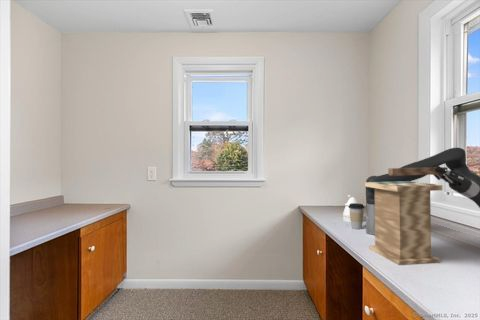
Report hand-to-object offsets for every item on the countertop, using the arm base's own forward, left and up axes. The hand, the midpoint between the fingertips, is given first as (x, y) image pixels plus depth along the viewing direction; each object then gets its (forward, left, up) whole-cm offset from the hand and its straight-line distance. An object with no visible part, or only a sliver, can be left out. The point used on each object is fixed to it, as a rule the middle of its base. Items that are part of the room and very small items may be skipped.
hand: (433, 167), depth 131 cm
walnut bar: (-6, -5, -3) cm, 8 cm away
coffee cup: (-40, +37, -39) cm, 67 cm away
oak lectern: (-12, -7, -39) cm, 42 cm away
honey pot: (-47, +59, -39) cm, 85 cm away
